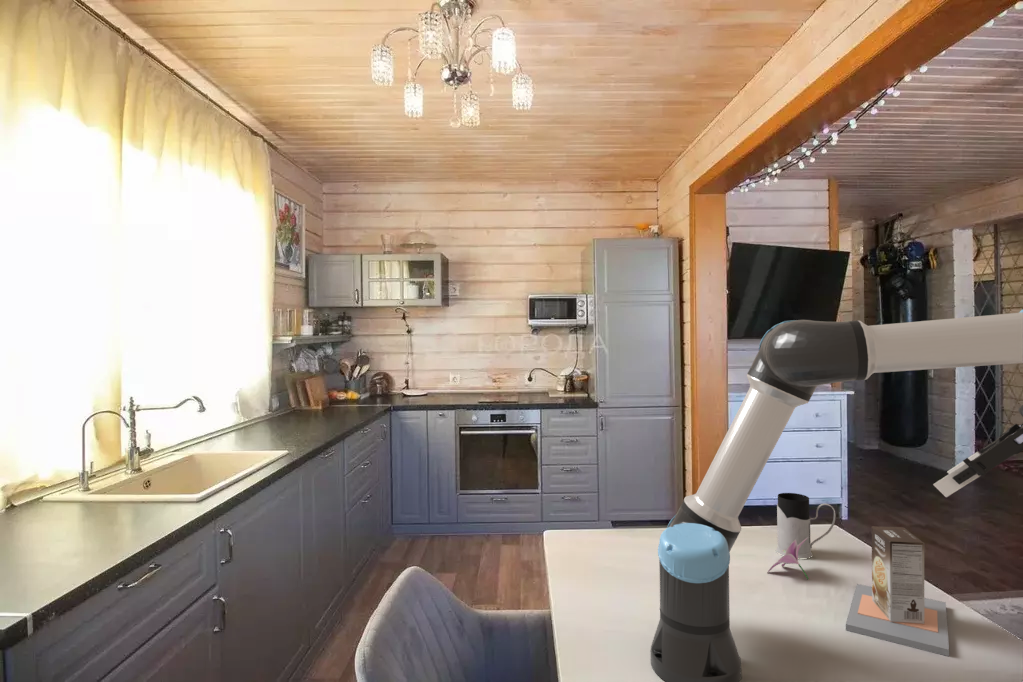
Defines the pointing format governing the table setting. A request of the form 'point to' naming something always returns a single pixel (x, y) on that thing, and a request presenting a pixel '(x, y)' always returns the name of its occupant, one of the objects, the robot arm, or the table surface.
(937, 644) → the slate plate
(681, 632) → the robot arm
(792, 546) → the lily
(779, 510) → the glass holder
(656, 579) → the table surface
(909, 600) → the coffee box
